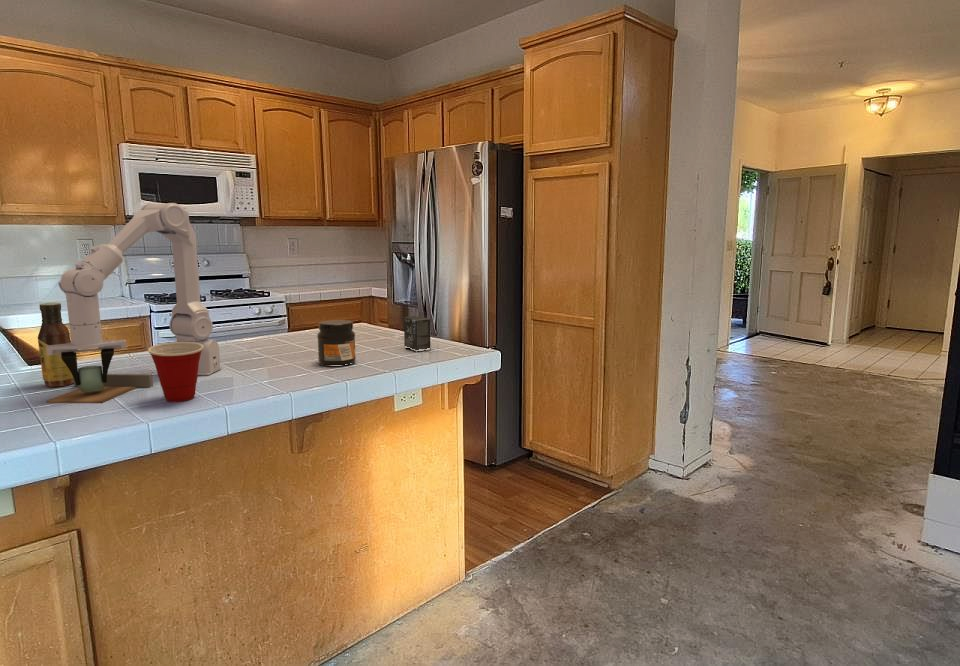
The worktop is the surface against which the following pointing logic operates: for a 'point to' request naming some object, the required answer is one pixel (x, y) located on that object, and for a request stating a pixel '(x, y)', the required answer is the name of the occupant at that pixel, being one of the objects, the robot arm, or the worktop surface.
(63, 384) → the sauce bottle
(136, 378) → the taupe wall
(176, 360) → the plastic cup
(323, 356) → the supplement container
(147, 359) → the worktop surface
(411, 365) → the worktop surface
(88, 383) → the sage green cylinder
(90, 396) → the walnut board
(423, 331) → the box
